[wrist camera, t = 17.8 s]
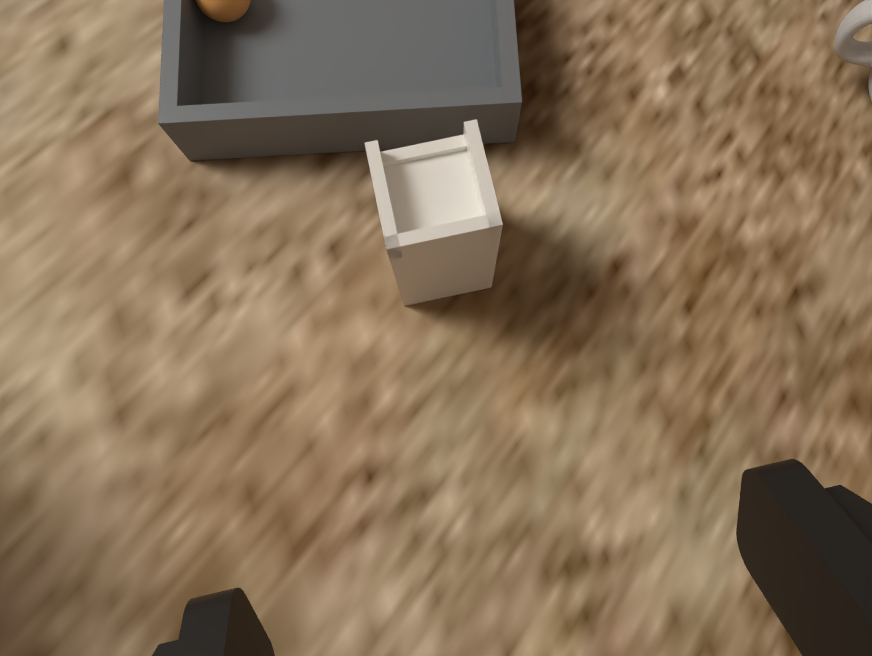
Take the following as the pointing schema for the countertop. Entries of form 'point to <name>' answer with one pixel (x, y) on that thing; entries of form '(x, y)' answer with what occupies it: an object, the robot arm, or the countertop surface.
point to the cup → (850, 48)
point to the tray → (337, 75)
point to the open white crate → (438, 215)
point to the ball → (224, 9)
